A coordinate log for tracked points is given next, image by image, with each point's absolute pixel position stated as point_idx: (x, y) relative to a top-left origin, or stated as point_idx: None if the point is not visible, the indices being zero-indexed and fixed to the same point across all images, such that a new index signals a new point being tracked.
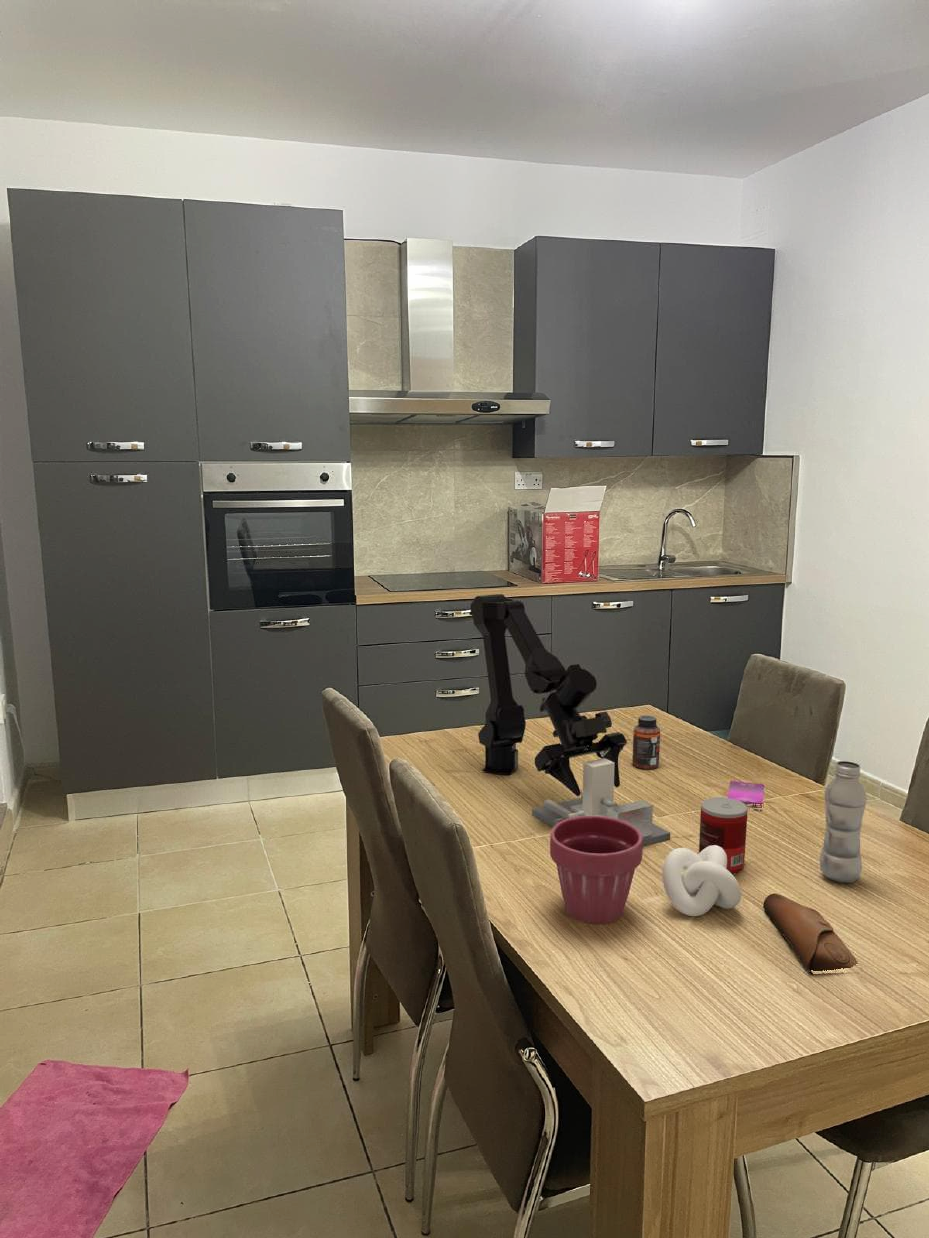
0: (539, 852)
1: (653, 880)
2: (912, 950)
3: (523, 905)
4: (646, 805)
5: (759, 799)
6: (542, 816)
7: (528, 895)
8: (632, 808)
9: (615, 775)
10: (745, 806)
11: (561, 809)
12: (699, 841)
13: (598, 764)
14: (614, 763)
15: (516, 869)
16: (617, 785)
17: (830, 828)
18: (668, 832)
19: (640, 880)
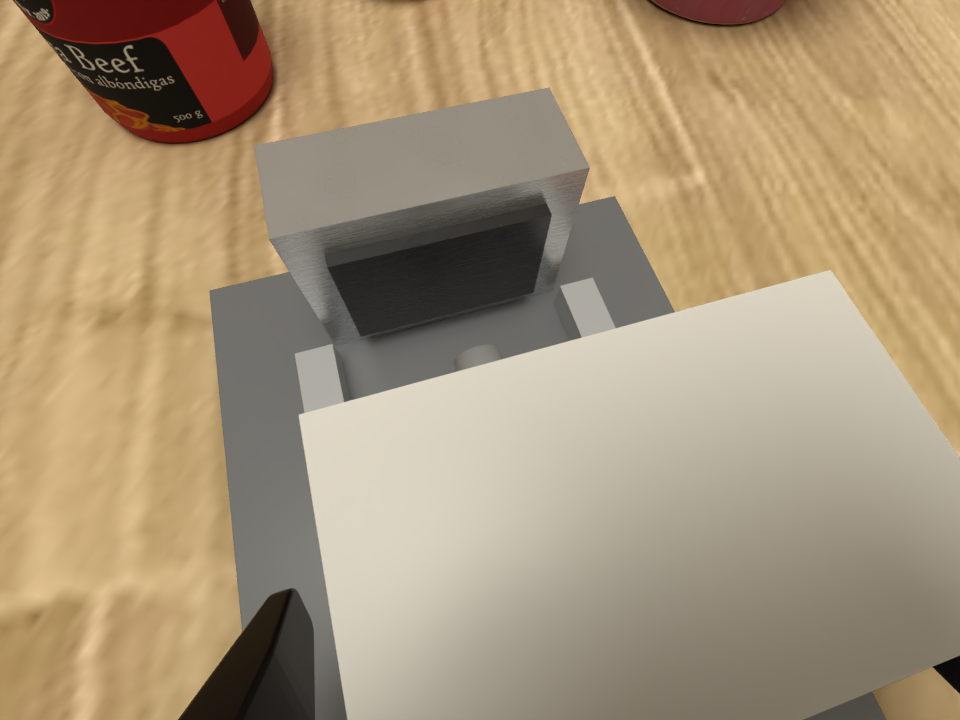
0: (864, 307)
1: (478, 57)
2: None
3: (907, 22)
4: (302, 148)
5: None
6: (877, 716)
7: (895, 58)
8: (422, 131)
9: (258, 684)
10: None
11: None
12: (223, 18)
13: (693, 391)
14: (307, 415)
15: (953, 199)
16: (300, 604)
17: None
18: (217, 295)
19: (520, 63)
